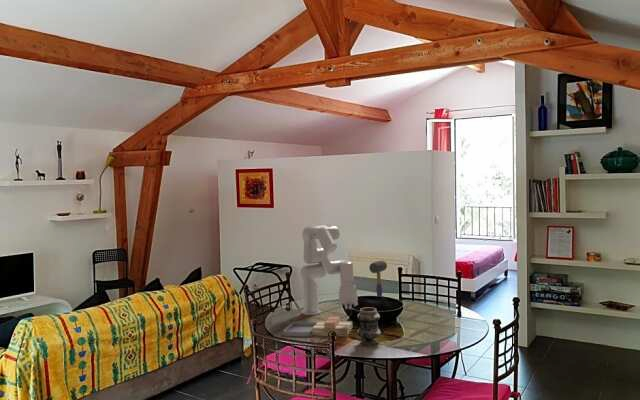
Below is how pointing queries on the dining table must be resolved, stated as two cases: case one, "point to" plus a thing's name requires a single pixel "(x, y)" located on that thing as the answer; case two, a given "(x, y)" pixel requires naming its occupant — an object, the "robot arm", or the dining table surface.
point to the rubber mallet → (378, 274)
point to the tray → (299, 329)
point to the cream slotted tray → (332, 329)
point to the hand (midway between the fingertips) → (349, 315)
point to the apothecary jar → (368, 326)
